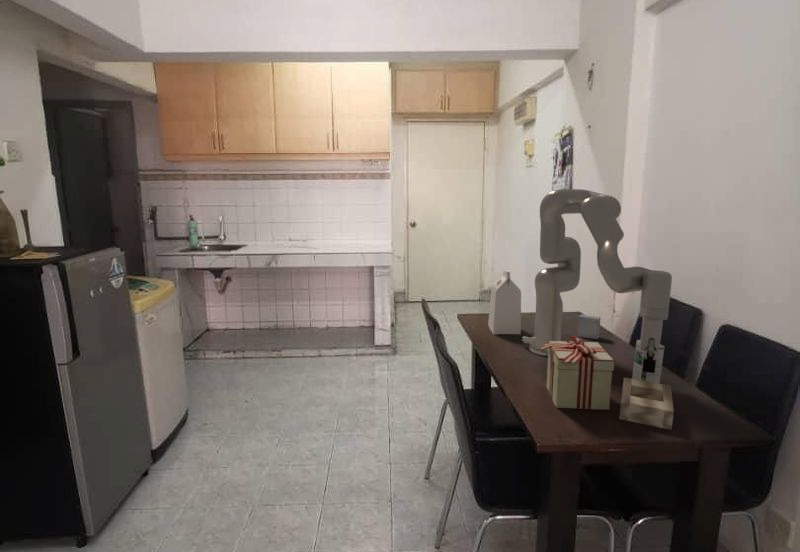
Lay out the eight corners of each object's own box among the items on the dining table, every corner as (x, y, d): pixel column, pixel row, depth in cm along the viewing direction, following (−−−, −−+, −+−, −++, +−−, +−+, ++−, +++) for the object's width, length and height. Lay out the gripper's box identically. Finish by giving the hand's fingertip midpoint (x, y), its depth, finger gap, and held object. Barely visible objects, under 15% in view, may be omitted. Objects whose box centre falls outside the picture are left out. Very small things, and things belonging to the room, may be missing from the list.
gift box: (532, 386, 143) (535, 332, 140) (592, 387, 142) (597, 333, 139) (547, 412, 126) (552, 352, 123) (616, 414, 126) (622, 353, 122)
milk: (520, 334, 193) (524, 273, 189) (493, 334, 194) (496, 273, 189) (514, 326, 205) (517, 268, 200) (488, 326, 205) (490, 268, 201)
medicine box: (599, 337, 191) (601, 316, 190) (597, 340, 188) (599, 319, 186) (579, 333, 195) (580, 314, 194) (576, 336, 192) (578, 316, 190)
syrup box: (630, 383, 145) (635, 339, 143) (648, 383, 146) (653, 339, 143) (641, 391, 140) (646, 345, 137) (659, 391, 140) (665, 345, 137)
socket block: (619, 418, 123) (621, 401, 122) (622, 393, 138) (623, 377, 138) (671, 429, 117) (673, 411, 116) (668, 401, 133) (670, 385, 132)
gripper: (640, 304, 147) (635, 356, 150) (639, 317, 132) (634, 374, 135) (667, 307, 144) (661, 359, 147) (669, 320, 129) (663, 378, 132)
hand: (648, 366), depth 141 cm, fingers open, 9 cm apart
